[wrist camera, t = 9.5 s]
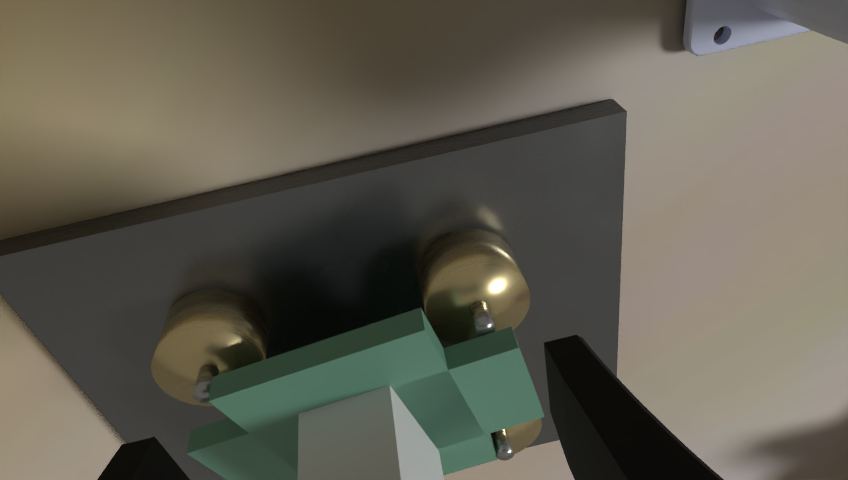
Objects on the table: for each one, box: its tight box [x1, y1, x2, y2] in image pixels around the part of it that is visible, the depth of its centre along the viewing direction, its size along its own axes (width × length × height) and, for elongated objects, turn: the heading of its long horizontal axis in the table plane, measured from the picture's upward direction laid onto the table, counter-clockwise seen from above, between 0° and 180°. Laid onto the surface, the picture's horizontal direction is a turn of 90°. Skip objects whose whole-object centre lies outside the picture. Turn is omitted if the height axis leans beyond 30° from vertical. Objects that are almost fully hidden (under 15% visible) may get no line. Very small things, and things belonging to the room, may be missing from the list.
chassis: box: [0, 99, 627, 480], centre depth 21 cm, size 20×16×4 cm
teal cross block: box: [187, 308, 545, 480], centre depth 18 cm, size 11×9×4 cm
